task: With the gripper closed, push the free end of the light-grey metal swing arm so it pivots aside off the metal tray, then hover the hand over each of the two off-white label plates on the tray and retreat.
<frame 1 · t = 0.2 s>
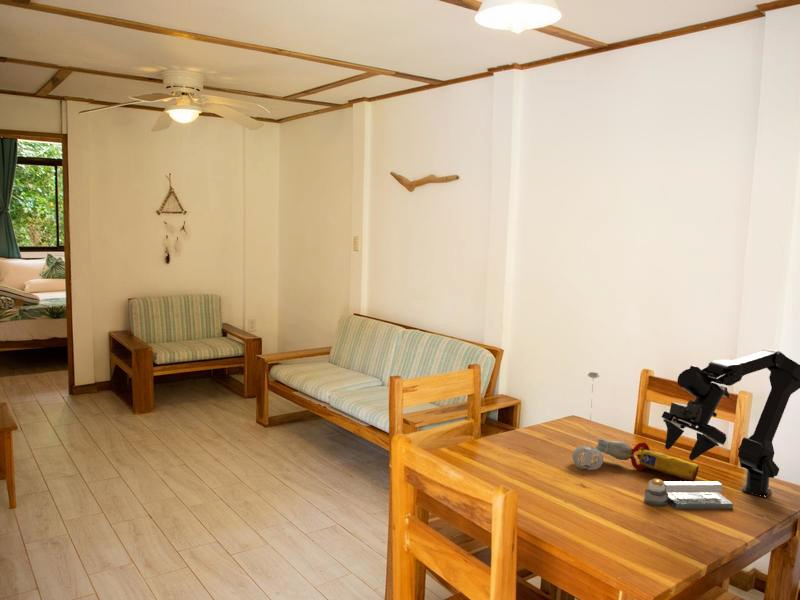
hand: (678, 454, 177), 14 cm above the table, tool tilted 30°, fingers open, 9 cm apart
swing arm: (684, 486, 180), point 5 cm above the table, hinge at 0.0°
toy: (645, 470, 204), on the table
pendant light: (587, 467, 205), on the table
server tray: (695, 501, 181), on the table
pivot base: (655, 502, 180), on the table
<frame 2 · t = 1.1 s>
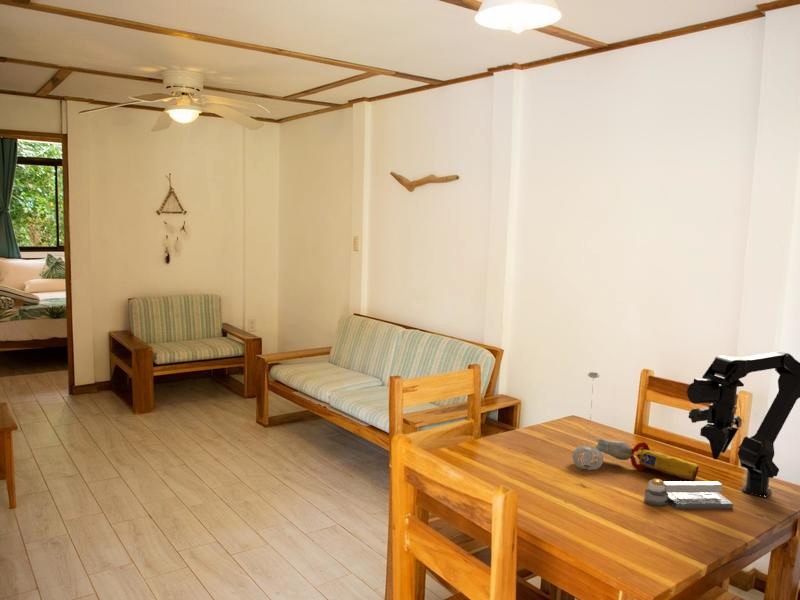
hand: (718, 455, 184), 12 cm above the table, tool pointing down, fingers open, 7 cm apart
nothing on the table moved.
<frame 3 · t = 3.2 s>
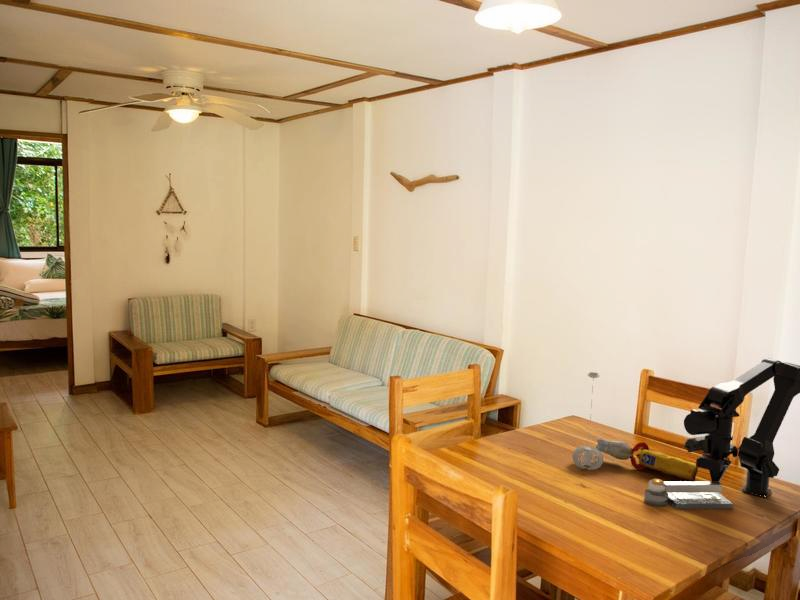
hand: (714, 485, 184), 4 cm above the table, tool pointing down, fingers closed
swing arm: (684, 486, 180), point 5 cm above the table, hinge at 0.0°, touching gripper
everything else where it was.
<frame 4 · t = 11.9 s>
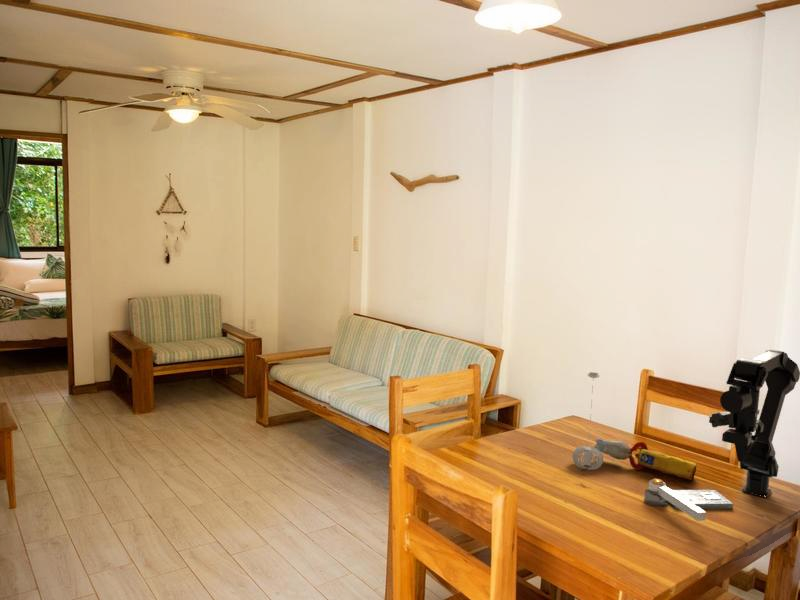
hand: (740, 461, 178), 12 cm above the table, tool pointing down, fingers closed
swing arm: (675, 498, 172), point 5 cm above the table, hinge at -80.6°
everything else where it was.
at the end: swing arm at -81° (first picture: +0°) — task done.
